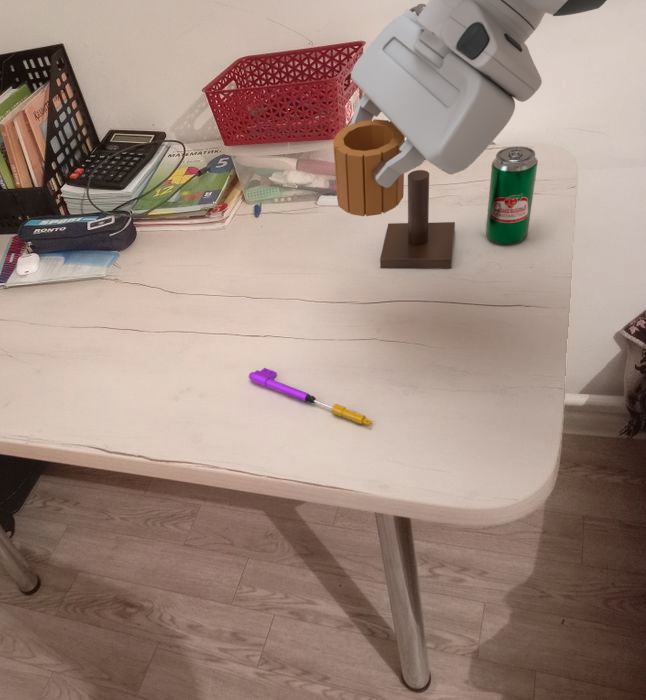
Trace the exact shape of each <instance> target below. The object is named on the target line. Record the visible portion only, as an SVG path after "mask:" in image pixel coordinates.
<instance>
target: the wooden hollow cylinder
mask: <svg viewBox="0 0 646 700" xmlns="http://www.w3.org/2000/svg"><path fill="white" fill-rule="evenodd" d="M350 124H351V123H350ZM350 124H349V125H347V126H345V127H343V128H341V129H340V130H339V131H338V132H337V133H336V135H335V136H334V137H333V139H332V143H333V157H334V173H335V186H336V187H335V188H336V198H337V206H338V207H339V208H340V209H341V210H342V211H344V212H346V213H347V214H349V215H353V216H359V217H365V216H366V217H371V216H377V215H382V213H383V214H387V212H389V211H391V210H393V209H395V208H397V207H398V206H399V204H400V203H401V201H402V200H403V198H404V190H405V188H404V187H405V173H404V174H402V175H400V176H399V177H398V178H397V179H396V181H395V182H394V183H393V184H392V185H391V186H390V187H388V188H385V187H383V186H381V185H380V184H378V183H377V182H376V180H375V179H374V178H373V176H372V171H373V170H374V169H375V168H377V165H378V164H379V163H380V162H381V160H384V161H385V162H388V161H389V160H391V159H392V158H394V157H395V156H396V155H398V154H399V153H401V151H400V150H399V148H400V147H401V146H402V144H403V143H404V142H405V141H406V137H405V136H404V135H403V134H402V133H401V132H400V131H399V130H398V129H397V128H396V126H395V125H394V124H393V123H392V122H391V121H390V120H389V119H388V120H387V119H376V118H375V119H374V118H373V119H372V120H367V121H361V122H357V123H356V124H355V123H353V124H351V125H350Z"/></svg>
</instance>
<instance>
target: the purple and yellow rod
mask: <svg viewBox="0 0 646 700" xmlns="http://www.w3.org/2000/svg"><path fill="white" fill-rule="evenodd" d="M277 376H278V373H277V371H274V370H272V369H270V368H266V367H263V368H262V369H261V370H258V369H257V370H255V371H251V372H250V373H249V374H248V379H249V380H250V381H251V382H253V383H256V384H258V385H260V386H263V387H265V388H270V389H273V390H275V391H277V392H280V393H281V394H285V395H287V396H289V397H292V398H295V399H297V400H300V401H302V402H304V403H309V404H319V405H321V406H324V407H327V408H329V409H331V414H332V415H335V416H338V417H340V418H345V419H347V420H350V421H352V422H355V423H357V424H360V425H363V424H364V425H366V426H371V425H372V424H373V422H374V420H371V419H369V418H366V416H365V415H363V414H361V413H358V412H356V411H354V410H351V409H348V408H346V407H345V406H343V405H340V404H337V403H335V404H334V405H333V406H331V405H329V404H326V403H323V402H321V401H319V400H317V399H316V397H315V396H314V395H311V394H310V393H308V392H305V391H303V390H300V389H297V388H295V387H292V386H290V385H287V384H284V383H283V382H279V381H278V380H274V378H275V377H277Z"/></svg>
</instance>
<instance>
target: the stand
mask: <svg viewBox="0 0 646 700" xmlns="http://www.w3.org/2000/svg"><path fill="white" fill-rule="evenodd" d="M429 208H430V172H429V171H427V170H425V169H417V170H412V171H410V172H409V173H408V174H407V222H404V223H403V222H399V223H398V222H395V223H390V222H389V223H387V226H386V227H387V228H386V232H385V237H384V240H383V245H382V250H381V253H380V257H379V264H380V265H379V266H380V268H381V269H451V268H452V263H453V252H454V243H455V241H454V240H455V233H456V232H455V230H456V222H455V221H446V222H445V221H443V222H441V221H438V222H429V217H430V216H429V214H430V213H429V212H430V211H429V210H430V209H429Z"/></svg>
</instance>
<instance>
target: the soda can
mask: <svg viewBox="0 0 646 700" xmlns="http://www.w3.org/2000/svg"><path fill="white" fill-rule="evenodd" d="M538 162H539V160H538V157H536V152H535V150H534V149H533V148H530V147H527V146H521V145H519V146H518V145H517V146H508V147H505V148H502V149H500V150H499V151H497V153H496V154H495V157H494V159H493V160H492V162H491V170H490V181H489V191H488V192H489V193H488V203H487V214H486V225H485V235H486V237H487V238H488V239H489V240H490V241H491V242H492V243H495V244H498V245H513V244H514V245H515V244H518V243H519V242H521V241H523V240H524V239H525V238H526V237H528V235H529V234H528V232H529V227H530V221H531V213H532V212H531V211H532V207H533V206H532V205H533V204H532V203H533V199H534V191H535V184H536V177H537V169H538Z"/></svg>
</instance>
